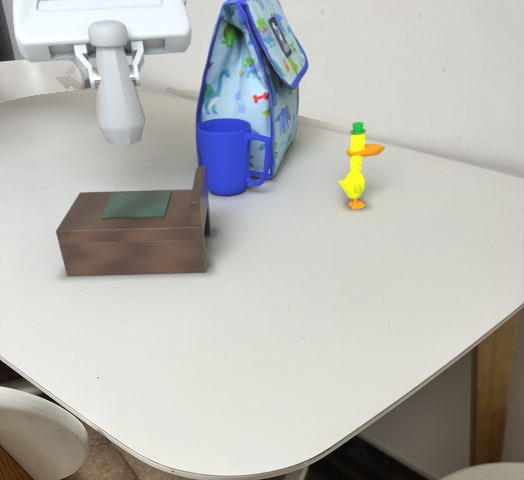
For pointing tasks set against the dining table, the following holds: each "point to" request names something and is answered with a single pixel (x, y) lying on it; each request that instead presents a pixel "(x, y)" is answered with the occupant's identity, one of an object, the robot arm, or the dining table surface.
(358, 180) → the toy figure
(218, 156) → the mug
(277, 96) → the lunch bag
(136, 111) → the salt shaker
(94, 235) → the toy bed
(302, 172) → the dining table surface
